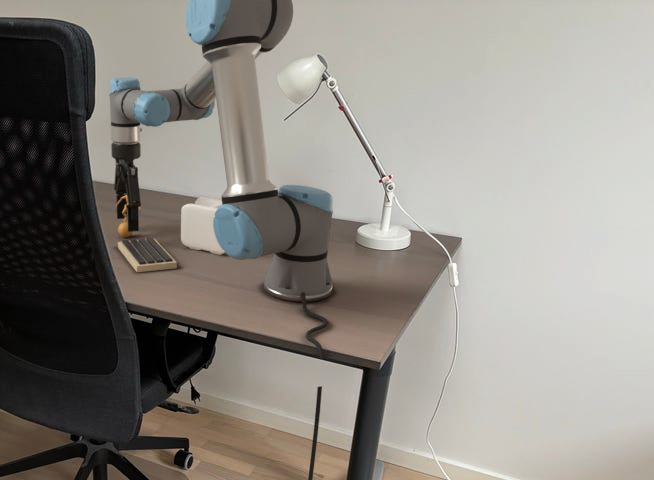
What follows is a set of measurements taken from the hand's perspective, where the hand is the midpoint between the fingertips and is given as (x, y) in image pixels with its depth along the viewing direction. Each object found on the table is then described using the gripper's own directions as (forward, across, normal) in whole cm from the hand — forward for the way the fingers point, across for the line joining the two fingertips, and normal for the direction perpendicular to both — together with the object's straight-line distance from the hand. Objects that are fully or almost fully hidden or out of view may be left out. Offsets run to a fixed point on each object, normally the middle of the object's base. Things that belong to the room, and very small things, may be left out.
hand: (127, 224), depth 200 cm
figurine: (+3, 0, 0) cm, 3 cm away
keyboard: (+3, -18, 0) cm, 19 cm away
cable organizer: (+3, -15, -19) cm, 24 cm away
